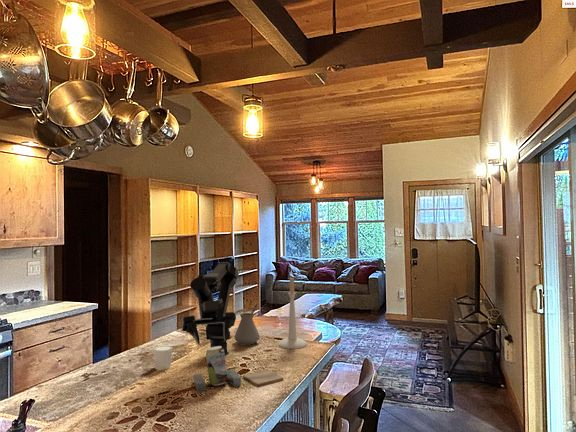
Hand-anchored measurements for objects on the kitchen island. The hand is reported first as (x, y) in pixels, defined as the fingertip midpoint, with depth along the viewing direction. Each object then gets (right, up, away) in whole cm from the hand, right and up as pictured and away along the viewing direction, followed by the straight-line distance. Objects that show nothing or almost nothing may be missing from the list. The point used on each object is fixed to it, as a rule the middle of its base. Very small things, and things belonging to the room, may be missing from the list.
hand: (212, 342), depth 137 cm
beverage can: (+3, -12, -6) cm, 14 cm away
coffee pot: (+9, -14, +48) cm, 51 cm away
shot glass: (-21, -13, +11) cm, 27 cm away
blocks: (+3, -12, -6) cm, 14 cm away
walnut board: (+18, -12, -2) cm, 21 cm away
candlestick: (+28, -14, +39) cm, 50 cm away
